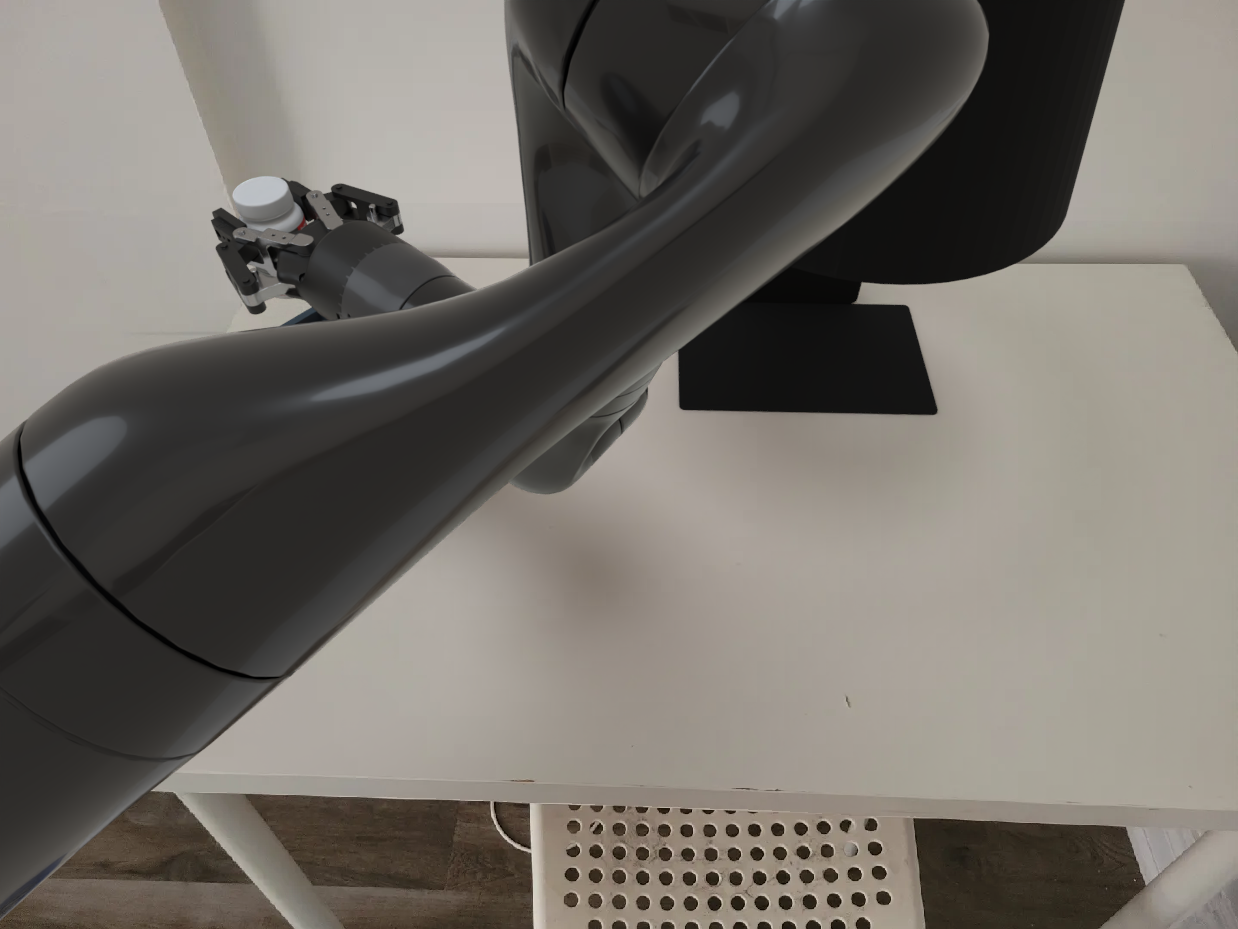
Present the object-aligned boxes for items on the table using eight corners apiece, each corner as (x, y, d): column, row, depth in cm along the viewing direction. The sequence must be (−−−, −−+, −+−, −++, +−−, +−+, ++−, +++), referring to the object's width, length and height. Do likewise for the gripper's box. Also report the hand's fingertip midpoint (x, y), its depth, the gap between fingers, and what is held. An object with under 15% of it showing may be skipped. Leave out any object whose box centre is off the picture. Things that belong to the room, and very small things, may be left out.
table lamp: (923, 296, 85) (1090, -211, 55) (994, 532, 67) (1302, -30, 37) (660, 292, 86) (681, -212, 55) (660, 524, 68) (691, -35, 37)
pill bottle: (331, 288, 70) (301, 196, 64) (273, 308, 69) (236, 215, 62) (314, 258, 73) (283, 166, 67) (257, 276, 71) (220, 183, 65)
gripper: (461, 203, 60) (314, 122, 68) (285, 304, 54) (143, 202, 61) (476, 290, 66) (338, 207, 74) (318, 392, 59) (185, 288, 67)
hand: (250, 205), depth 67 cm, fingers closed on pill bottle, 4 cm apart
